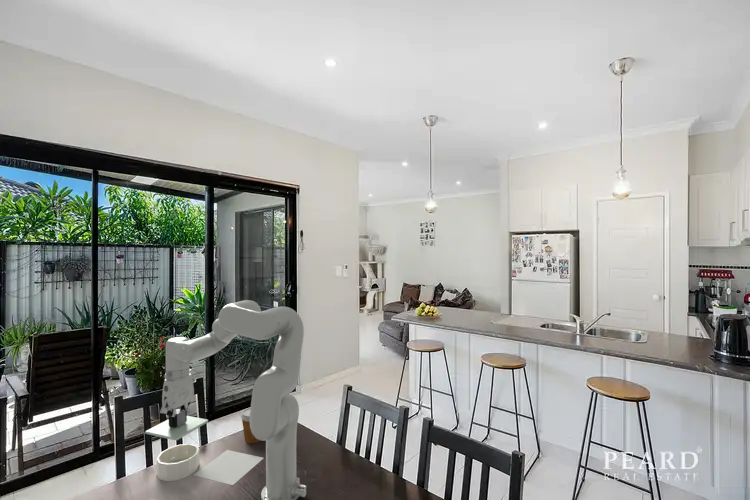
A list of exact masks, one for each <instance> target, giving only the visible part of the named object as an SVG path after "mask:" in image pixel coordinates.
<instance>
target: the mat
mask: <svg viewBox="0 0 750 500" xmlns="http://www.w3.org/2000/svg"><path fill="white" fill-rule="evenodd" d="M263 460H264V457H263V456H257V455H253V454H248V453H243V452H238V451H234V450H230V449H225V451H223V452H221V454H219V455H218V456H217V457H215V458H214V459H213V460H211V461H209V462H208V463H207V464H206V465H204V466H203V467H202V468H200V469H199V470H197V472H196V471H195V472H194V473H193V476H194V477H199V478H202V479H206V480H211V481H213V482H218V483H220V484H226V485H229V486H234V485H235V484H236V483H237V482H239V480H241V479H242V478H243V477H244V476H245V475H246V474H247V473H249V472H250V471H251V470H253V468H254V467H256V466H257V465H258V464H259V463H260V462H261V461H263Z"/></svg>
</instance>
